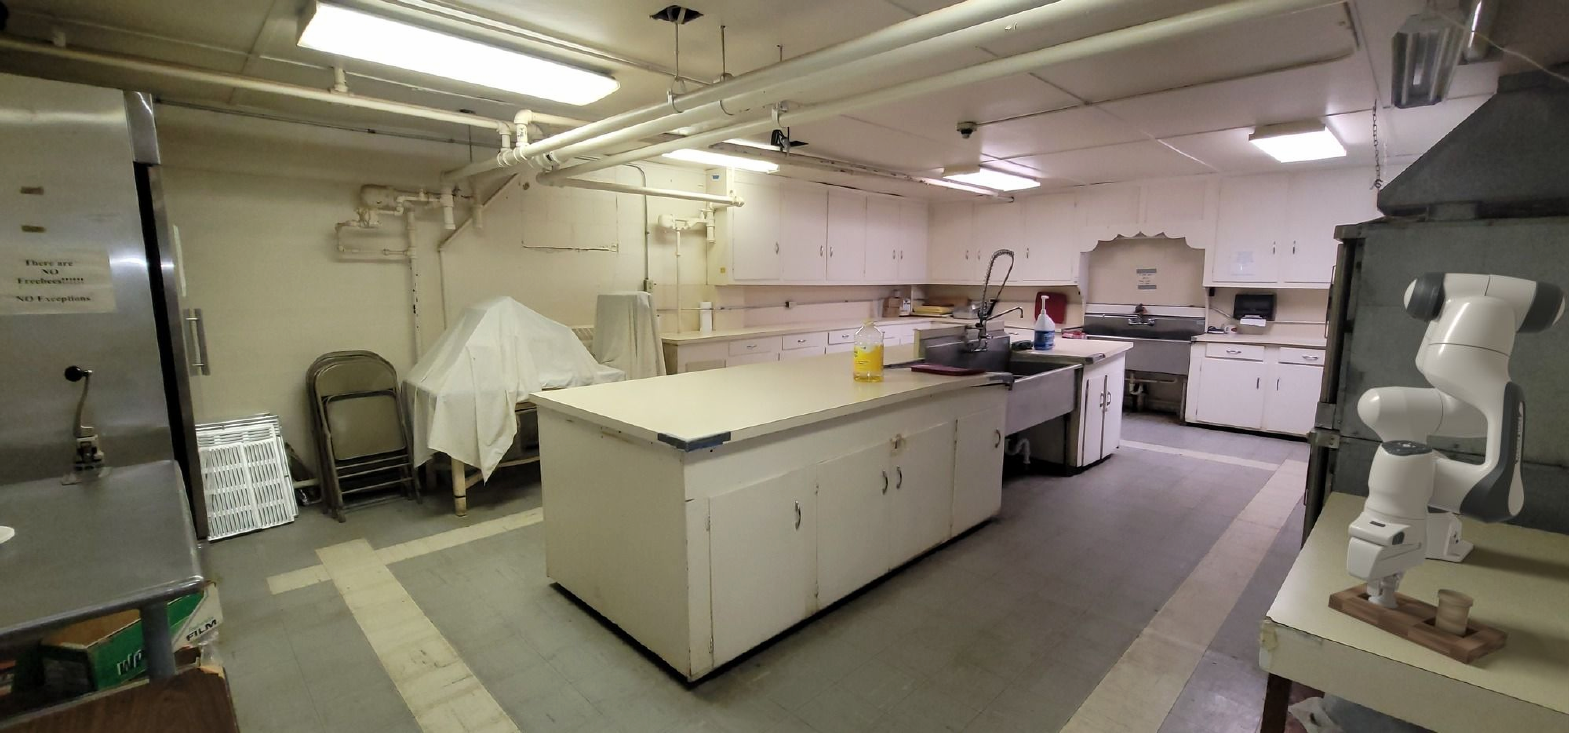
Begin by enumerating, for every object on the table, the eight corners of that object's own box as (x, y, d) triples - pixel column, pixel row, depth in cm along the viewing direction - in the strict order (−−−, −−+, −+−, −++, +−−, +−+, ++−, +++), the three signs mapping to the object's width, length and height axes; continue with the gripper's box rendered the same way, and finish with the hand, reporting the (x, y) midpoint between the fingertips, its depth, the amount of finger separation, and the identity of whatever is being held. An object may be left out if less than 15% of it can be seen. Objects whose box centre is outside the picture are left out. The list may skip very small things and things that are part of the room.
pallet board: (1367, 592, 131) (1373, 554, 129) (1505, 645, 112) (1514, 601, 111) (1328, 606, 125) (1334, 566, 124) (1466, 664, 107) (1475, 617, 106)
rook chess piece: (1369, 612, 122) (1375, 573, 121) (1364, 601, 126) (1370, 564, 125) (1400, 618, 120) (1407, 579, 119) (1394, 608, 124) (1400, 570, 122)
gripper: (1401, 511, 127) (1390, 575, 130) (1343, 526, 120) (1333, 594, 122) (1443, 523, 122) (1431, 589, 124) (1385, 540, 114) (1373, 610, 116)
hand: (1382, 592), depth 123 cm, fingers open, 4 cm apart
